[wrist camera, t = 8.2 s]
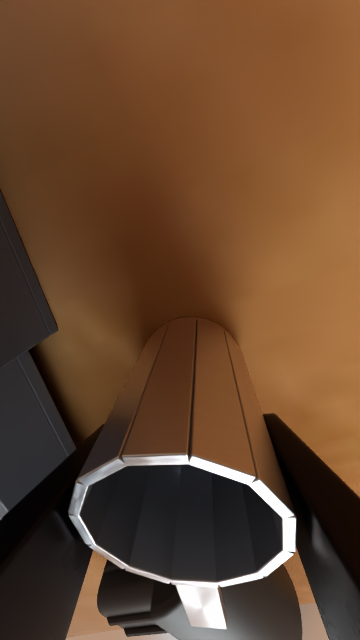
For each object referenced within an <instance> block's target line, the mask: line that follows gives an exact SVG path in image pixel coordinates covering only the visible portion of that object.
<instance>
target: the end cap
mask: <svg viewBox="0 0 360 640" xmlns="http://www.w3.org/2000/svg"><path fill="white" fill-rule="evenodd" d="M220 590H221V594H222V599H223V603H224V607H225V612H226V616H227V629H217V628H206V627H195V626H191V624H190V622H189V619H188V617H187V614H186V611H185V609H184V606H183V604H182V601H181V598H180V596H179V593H178V590H177V588H176V585H172V583H171V582H170V583H169V584H167V583H164V582H161V581H157V580H154V579H151V578H148V577H145V576H141V575H138V574H135V573H132V572H129V571H126V570H125V568H124V569H122V568H120V567H119V566H117V565H116V564H114V563H113V562H111V561H109V560H108V559H107V562H106V565H105V568H104V572H103V576H102V579H101V583H100V586H99V590H98V595H97V606H98V610H99V612H100V613H101V614H102V615H103V616H105V617H106V618H107V620H108V623H109V625H110V626H113V625H118V626H120V627H122V628H123V629H124V631H125V634H126V636H127V637H130V636H140V635H151V634H160V633H170V634H171V635H172V636H174V637H175V638H177V639H178V640H302V622H301V613H300V607H299V602H298V597H297V594H296V591H295V588H294V585H293V582H292V580H291V578H290V576H289V574H288V572H287V570H286V568H285V567H284V565H283V564H281V565H280V566H279V567H277V568H276V569H275V570H274V571H273V572H271V573H270V574H269V575H268V576H264V577H263V578H260V579H256V580H251V581H247V582H243V583H238V584H234V585H229V586H225V587H221V586H220Z"/></svg>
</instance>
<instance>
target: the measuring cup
mask: <svg viewBox="0 0 360 640" xmlns="http://www.w3.org/2000/svg"><path fill="white" fill-rule="evenodd" d="M68 513H69V514H68V516H69V517H70V519H71V521H72V522H73V524H74V526H75V527H76V529H77V530H78V532H79V534H80V535H81V537H82V539H83V540H84V542H85V544H88V547H90V548H91V549H93V550H94V551H96V552H97V553H99V554H100V555H102V556H103V557H105V558H106V559H108V560H109V561H111V562H113V563H114V564H116V565H117V566H119V567H120V568H122V569H124V568H125V570H126V571H129V572H132V573H135V574H138V575H141V576H145V577H148V578H151V579H154V580H157V581H161V582H164V583H167V584H169V583H170V582H171V583H172V585H176V588H177V590H178V593H179V596H180V598H181V601H182V604H183V606H184V609H185V611H186V614H187V617H188V619H189V622H190V624H191V626H195V627H206V628H217V629H227V616H226V612H225V607H224V603H223V599H222V594H221V590H220V586H221V587H225V586H229V585H234V584H238V583H243V582H247V581H251V580H256V579H260V578H263V577H264V576H268V575H269V574H270V573H271V572H273V571H274V570H275V569H276V568H277V567H279V566H280V565H281V564H282V563H284V562H285V561H286V560H287V559H288V558H290V557H291V556H292V555H293V554H294V552H295V551H296V521H297V516H296V513H295V510H294V507H293V504H292V501H291V498H290V495H289V492H288V489H287V486H286V483H285V480H284V477H283V474H282V471H281V469H280V466H279V463H278V460H277V457H276V454H275V451H274V448H273V445H272V442H271V439H270V436H269V433H268V430H267V427H266V424H265V421H264V418H263V415H262V412H261V409H260V406H259V403H258V400H257V397H256V394H255V391H254V388H253V385H252V382H251V379H250V376H249V373H248V370H247V367H246V364H245V361H244V358H243V355H242V352H241V349H240V347H239V346H238V345H237V343H236V341H235V340H234V338H233V337H232V335H231V334H230V333H229V332H228V331H227V330H226V329H224V328H223V327H222V326H220V325H219V324H217V323H215V322H213V321H210V320H207V319H204V318H198V317H183V318H178V319H175V320H172V321H169V322H167V323H165V324H164V325H162V326H161V327H160V328H158V329H157V330H156V331H155V332H154V333H153V335H152V336H150V338H149V339H148V341H147V343H146V345H145V346H144V348H143V350H142V352H141V354H140V356H139V358H138V360H137V362H136V364H135V366H134V368H133V370H132V372H131V374H130V376H129V378H128V380H127V382H126V384H125V386H124V388H123V390H122V391H121V393H120V395H119V397H118V399H117V401H116V403H115V405H114V407H113V409H112V411H111V413H110V415H109V417H108V419H107V421H106V423H105V425H104V427H103V429H102V431H101V433H100V435H99V436H98V438H97V440H96V442H95V444H94V446H93V448H92V450H91V452H90V454H89V456H88V458H87V460H86V462H85V464H84V466H83V468H82V470H81V472H80V474H79V476H78V478H77V479H76V482H75V486H74V490H73V493H72V497H71V501H70V505H69V509H68Z"/></svg>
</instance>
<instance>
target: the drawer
mask: <svg viewBox="0 0 360 640" xmlns="http://www.w3.org/2000/svg"><path fill="white" fill-rule="evenodd" d="M75 450H76V447H75V445H74V443H73V441H72V439H71V437H70V434H69V432H68V430H67V428H66V426H65V424H64V422H63V420H62V418H61V416H60V414H59V412H58V410H57V408H56V406H55V404H54V402H53V400H52V398H51V396H50V394H49V392H48V390H47V388H46V386H45V384H44V381H43V379H42V377H41V375H40V373H39V371H38V369H37V367H36V365H35V363H34V361H33V359H32V357H31V355H30V353H29V351H26V352H25V353H23V354H22V355H20V356H19V357H17V358H16V359H14V360H13V361H11V362H10V363H8V364H7V365H5V366H4V367H2V368H1V369H0V520H1V519H2V517H3V516H4V515H5V514H6V513H7V512H9V511H10V510H11V509H12V508H13V507H14V506H15V505H16V504H17V503H18V502H19V501H20V500H22V499H23V498H24V497H25V496H26V495H27V494H28V493H29V492H30V491H31V490H32V489H33V488H35V487H36V486H37V485H38V484H39V483H40V482H41V481H42V480H43V479H44V478H45V477H46V476H48V475H49V474H50V473H51V472H52V471H53V470H54V469H55V468H56V467H57V466H58V465H59V464H60V463H62V462H63V461H64V460H65V459H66V458H67V457H68V456H69V455H70V454H71V453H72V452H73V451H75Z"/></svg>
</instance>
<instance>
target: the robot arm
mask: <svg viewBox="0 0 360 640" xmlns="http://www.w3.org/2000/svg"><path fill="white" fill-rule="evenodd" d="M263 418H264V421H265V424H266V427H267V430H268V433H269V436H270V439H271V442H272V445H273V448H274V451H275V454H276V457H277V460H278V463H279V466H280V469H281V471H282V474H283V477H284V480H285V483H286V486H287V489H288V492H289V495H290V498H291V501H292V504H293V507H294V510H295V513H296V516H297V521H296V547H297V550H298V553H299V556H300V559H301V561H302V564H303V567H304V570H305V573H306V576H307V578H308V581H309V584H310V587H311V590H312V593H313V595H314V598H315V601H316V604H317V607H318V609H319V612H320V615H321V618H322V621H323V624H324V627H325V629H326V632H327V635H328V638H329V640H360V497H359V496H358V495H357V494H356V493H355V492H354V491H353V490H352V489H351V488H350V487H349V486H348V485H347V484H345V483H344V482H343V481H342V480H341V479H340V478H339V477H338V476H337V475H336V474H335V473H334V472H333V471H332V470H331V469H330V468H329V467H328V466H327V465H326V464H325V463H324V462H323V461H322V460H321V459H320V458H319V457H318V456H317V455H316V454H315V453H314V452H313V451H312V450H311V449H310V448H309V447H308V446H307V445H306V444H305V443H304V442H303V441H302V440H301V439H300V438H299V437H298V436H297V435H296V434H295V433H294V432H293V431H292V430H291V429H290V428H289V427H288V426H287V425H286V424H285V423H284V422H283V421H282V420H281V419H280V418H279V417H278V416H277V415H276V414H274V413H271V414H263ZM104 425H105V424H103V425H102V426H101V427H99V428H98V429H97V430H96V431H95V432H94V433H93V434H92V435H91V436H90V437H89V438H88V439H86V440H85V441H84V442H83V443H82V444H81V445H80V446H79V447H78V448H77V449H76V450H75V451H73V452H72V453H71V454H70V455H69V456H68V457H67V458H66V459H65V460H64V461H63V462H62V463H60V464H59V465H58V466H57V467H56V468H55V469H54V470H53V471H52V472H51V473H50V474H49V475H48V476H46V477H45V478H44V479H43V480H42V481H41V482H40V483H39V484H38V485H37V486H36V487H35V488H33V489H32V490H31V491H30V492H29V493H28V494H27V495H26V496H25V497H24V498H23V499H22V500H20V501H19V502H18V503H17V504H16V505H15V506H14V507H13V508H12V509H11V510H10V511H9V512H7V513H6V514H5V515H4V516H3V517H2V519H1V520H0V640H65V639H66V636H67V633H68V630H69V626H70V623H71V620H72V617H73V613H74V610H75V607H76V604H77V600H78V597H79V594H80V591H81V587H82V584H83V581H84V578H85V574H86V571H87V568H88V565H89V562H90V558H91V555H92V552H93V549H91V548H90V547H88V544H85V542H84V540H83V539H82V537H81V535H80V534H79V532H78V530H77V529H76V527H75V526H74V524H73V522H72V521H71V519H70V517H69V516H68V514H69V513H68V509H69V505H70V501H71V497H72V493H73V490H74V486H75V482H76V479H77V478H78V476H79V474H80V472H81V470H82V468H83V466H84V464H85V462H86V460H87V458H88V456H89V454H90V452H91V450H92V448H93V446H94V444H95V442H96V440H97V438H98V436H99V435H100V433H101V431H102V429H103V427H104Z"/></svg>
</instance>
